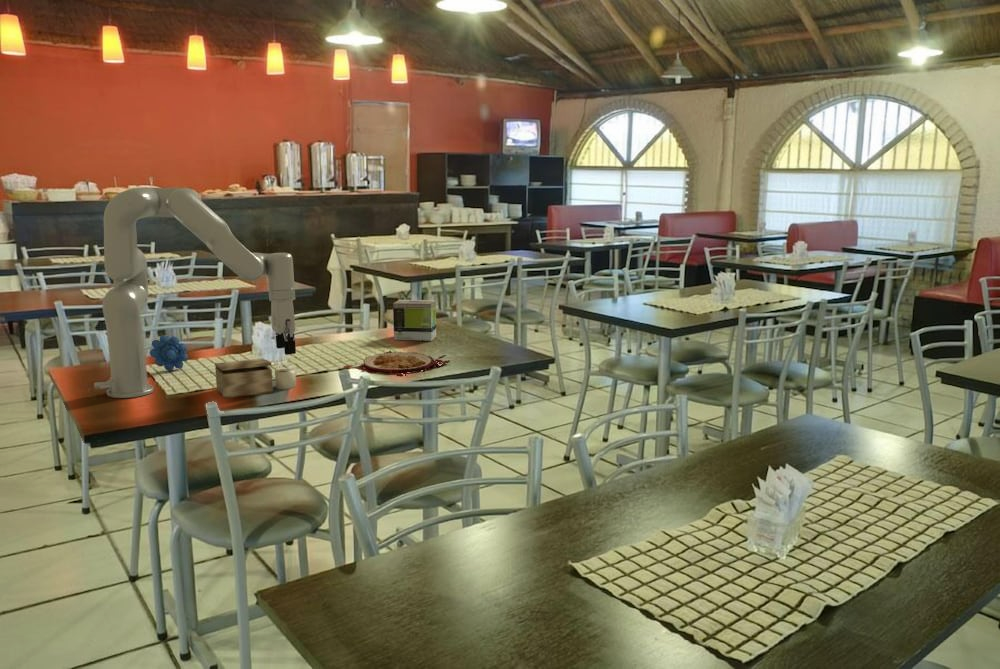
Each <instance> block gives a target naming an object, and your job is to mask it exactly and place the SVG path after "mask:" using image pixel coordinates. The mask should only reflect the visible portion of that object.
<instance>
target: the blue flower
mask: <svg viewBox="0 0 1000 669" xmlns="http://www.w3.org/2000/svg"><path fill="white" fill-rule="evenodd" d="M151 346H152V347H153V348H151V349H150V351H149V354H150V356H151V357H152V358H154V364H155V365H156V366H157V367H164V369H165V370H167V371H169V372H170V371H172V370H174V368H175V369H178V370H179V369H182V368H183V367H184V363H185V362H186V361H188V360H189V356H188V354H187V353H186V352H187V349H188V347H187V345H186V344H185V343H182V342H181V343H180V339H179V338H178V337H177V336H175V335H174V336H171V337H169V336H168V335H167V334H162V335H160V336H159V340H158V339H153V340H152V341H151Z"/></svg>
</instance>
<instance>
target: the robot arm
mask: <svg viewBox="0 0 1000 669" xmlns="http://www.w3.org/2000/svg"><path fill="white" fill-rule="evenodd" d="M149 217H150V218H151V217H159V218H160V217H163V218H168V217H169V218H175V220H177V221H179V223H181V224H182V226H184V227H185V228H186V229H187V230H189V231H190V233H192V234H193V235H195V237H197V238H198V239H199V240H200V241H201V242H202V243H203V244H204V245H205V246H206V247H207V248H208V249H209V250H210V251H211V252H212V253H213V254H214V255H215V256H216V257H217V258H218V259H219V260H220V261H221V262H222V263H223V264H224V265H225V266H226V267H227V268H228V269H230V270H231V271H232V272H233V273H234V274H236V275H237V276H238V277H239V278H240V279H242V280H244V281H247V282H256V281H258V280H260V279H261V278H262V277H267V287H268V288H267V289H268V298H269V299H268V300H269V301H270V302H271V304H270V306H271V307H270V309H271V310H270V314H271V317H270V318H271V319H270V320H271V330H272V331H274V332H275V345H276V349H284V355H287V356H288V355H294V354H296V353H297V349H296V337H295V335H296V334H295V332H296V321H295V311H294V309H295V308H294V300H296V288H295V278H294V277H295V276H294V274H295V272H294V260H293V259H294V258H293V256H292V253H288V252H273V253H265V252H264V253H263V252H251V251H250V250H249V249H247V248H246V246H245V245H243V244H242V242H240V241H239V240H238V238H236V237H235V235H234V234H233V233H232V231H231V229H230V227H229V225H228V224H227V223H226V221H225V220H224V219H222V218H221V216H219V215H218V214H217V213H216V212H214V211H213V210H212V209H211V208H210V207H208V205H207V204H206V203H204V202H203V201H202V197H201V196H200V194H199V193H198V192H197V191H196V190H194V189H192V188H188V187H182V188H180V187H175V188H174V187H173V188H172V187H147V186H146V187H145V186H144V187H143V186H142V187H141V186H140V187H134V188H133V187H132V188H129V189H126V190H124V191H121V192H119V193H118V194H116V195H114V197H112V198H111V199H110V200H109V202H108V203H107V205H106V206H105V209H104V213H103V250H104V253H103V256H104V259H103V260H104V264H103V266H104V270H105V273H106V275H107V276H108V277H109V278H110V279H111V280H113V288H112V287H111V289H109V291H107V292H106V293H105V295H104V296H103V300H102V312H103V313H102V314H103V317H104V318H103V319H104V323H105V328H106V337H107V346H108V354H109V355H108V356H109V357H108V358H109V367H110V376H111V377H109V380H105V381H102V382H101V381H99V382H93V385H94V386H93V387H94V390H100V391H101V390H102V391H103V390H106V395H107V396H108V397H109V398H115V399H129V398H137V397H143V396H147V395H149V394H152V393H153V392H154V391H155V390H154V386H153V385H152V384H149V383H148V373H147V362H146V350H145V349H146V348H145V338H144V337H145V336H144V327H143V322H142V317H141V311H142V310H143V309H144V308H145V307H146V306H147V303H148V301H149V300H148V299H149V284H148V282H149V281H148V279H149V278H148V277H149V276H148V262H147V258H146V256H145V253H143V251H142V250H141V249H139V248H138V234H137V232H138V231H137V226H136V225H137V222H138V220H140V219H144V218H149Z"/></svg>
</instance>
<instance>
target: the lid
mask: <svg viewBox="0 0 1000 669" xmlns="http://www.w3.org/2000/svg"><path fill="white" fill-rule="evenodd" d="M214 366H215V367H218V368H219V369H221V370H222V371H223V370H232V369H241V368H250V367H260V366H268V367H270V366H272V361H269V360H267V359H265V358H255V359H254V358H253V359H244V360H234V361H233V360H232V361H226V362H215V363H214Z"/></svg>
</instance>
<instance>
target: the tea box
mask: <svg viewBox="0 0 1000 669" xmlns="http://www.w3.org/2000/svg"><path fill="white" fill-rule="evenodd" d="M436 302H437V301H436V300H435V299H398V300H396V301H395V302H393V303H392V316H393V317H392V318H393V319H392V320H393V321H392V322H393V339H394V341H422V340H423V341H426V342H427V341H428V342H431V341H433V340H434V339H435V338H436V336H437V303H436Z"/></svg>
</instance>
